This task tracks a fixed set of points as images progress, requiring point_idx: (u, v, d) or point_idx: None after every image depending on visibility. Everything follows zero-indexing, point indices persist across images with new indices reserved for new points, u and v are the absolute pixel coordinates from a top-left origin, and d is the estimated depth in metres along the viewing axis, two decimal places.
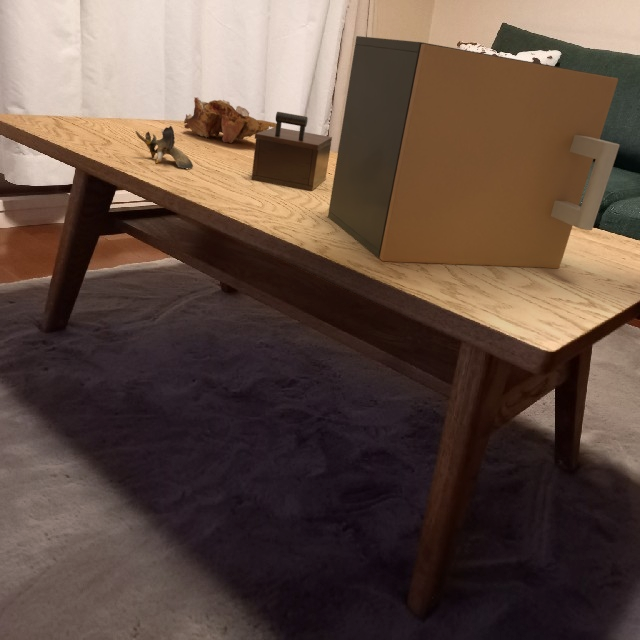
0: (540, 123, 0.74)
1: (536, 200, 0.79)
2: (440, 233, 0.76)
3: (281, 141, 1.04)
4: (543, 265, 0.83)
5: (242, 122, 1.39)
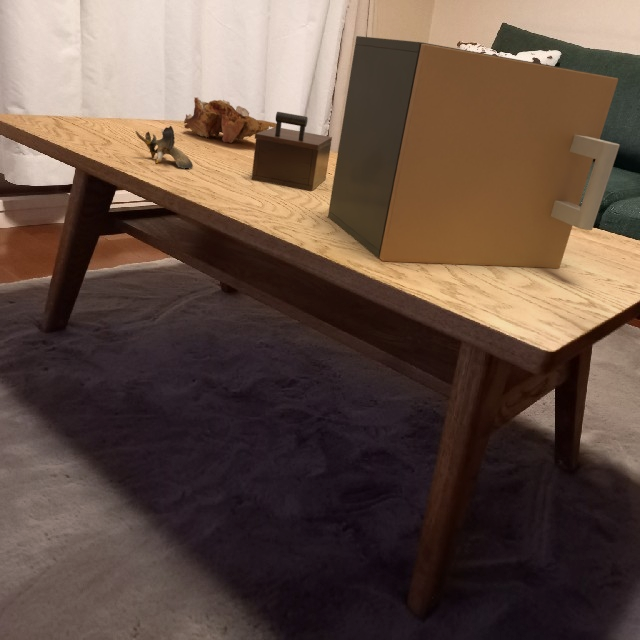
0: (540, 123, 0.74)
1: (536, 200, 0.79)
2: (440, 233, 0.76)
3: (281, 141, 1.04)
4: (543, 265, 0.83)
5: (242, 122, 1.39)
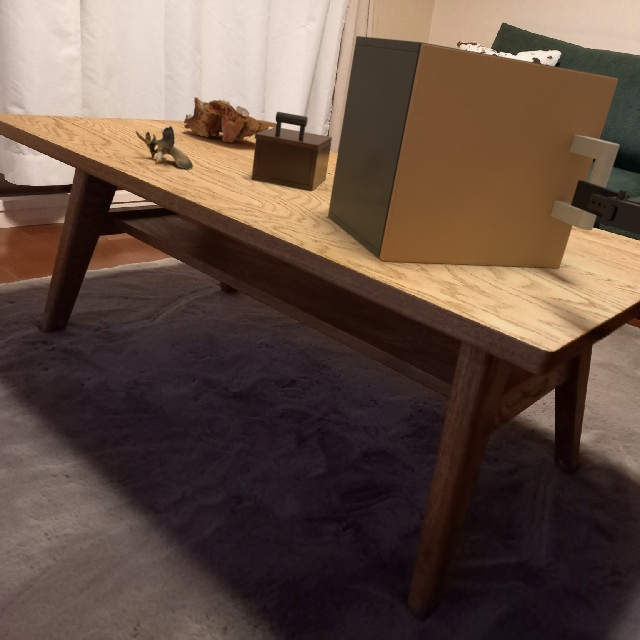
0: (540, 123, 0.74)
1: (536, 200, 0.79)
2: (440, 233, 0.76)
3: (281, 141, 1.04)
4: (543, 265, 0.83)
5: (242, 122, 1.39)
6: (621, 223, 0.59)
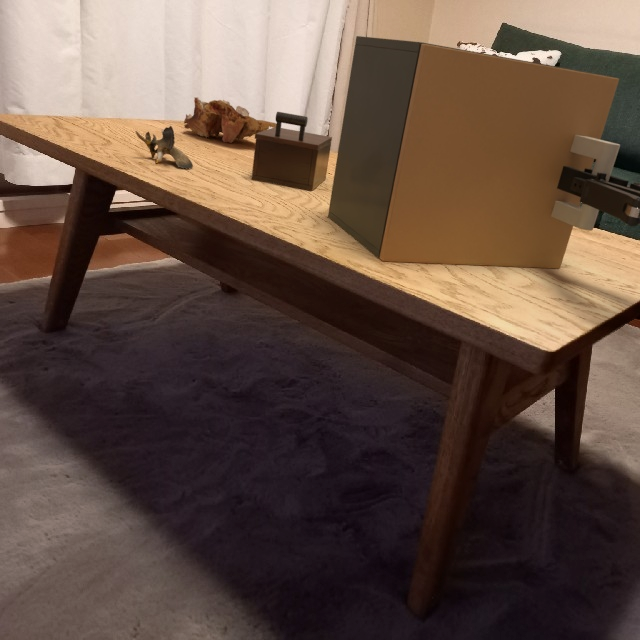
0: (540, 123, 0.74)
1: (537, 200, 0.78)
2: (440, 234, 0.76)
3: (281, 141, 1.04)
4: (544, 266, 0.83)
5: (242, 122, 1.39)
6: (589, 200, 0.68)
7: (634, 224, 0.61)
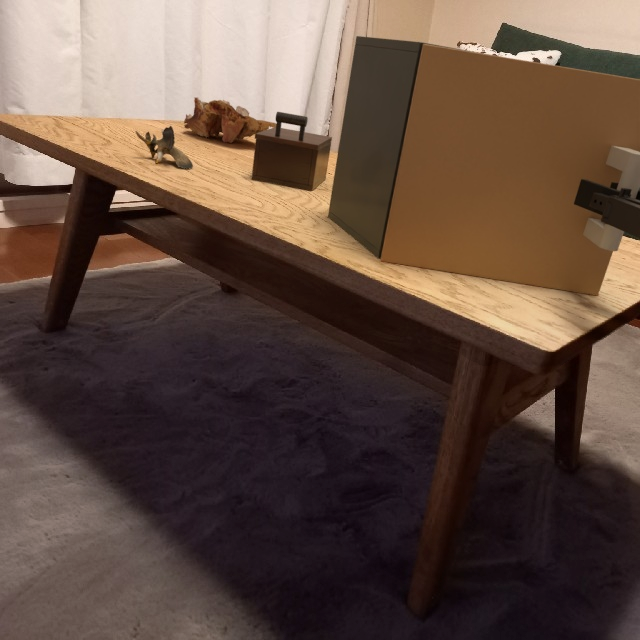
0: (565, 130, 0.68)
1: (564, 215, 0.72)
2: (446, 240, 0.74)
3: (281, 141, 1.04)
4: (576, 290, 0.75)
5: (242, 122, 1.39)
6: (613, 220, 0.59)
7: None
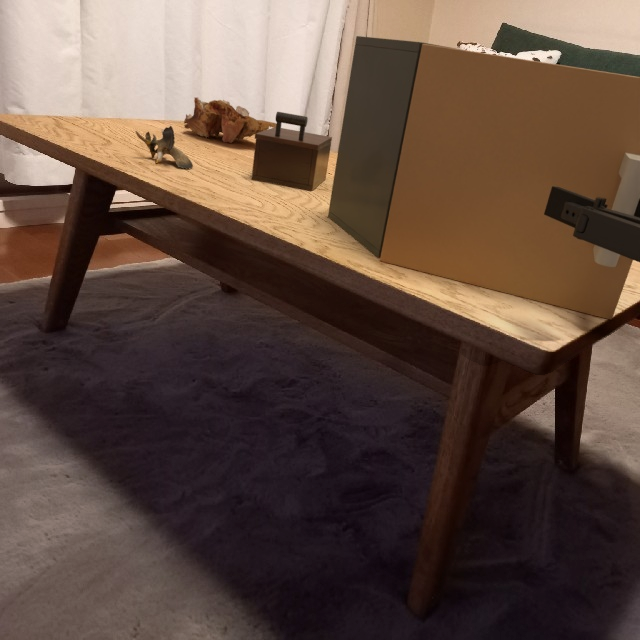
0: (572, 134, 0.64)
1: None
2: (444, 244, 0.72)
3: (281, 141, 1.04)
4: (586, 311, 0.69)
5: (242, 122, 1.39)
6: (591, 236, 0.51)
7: None
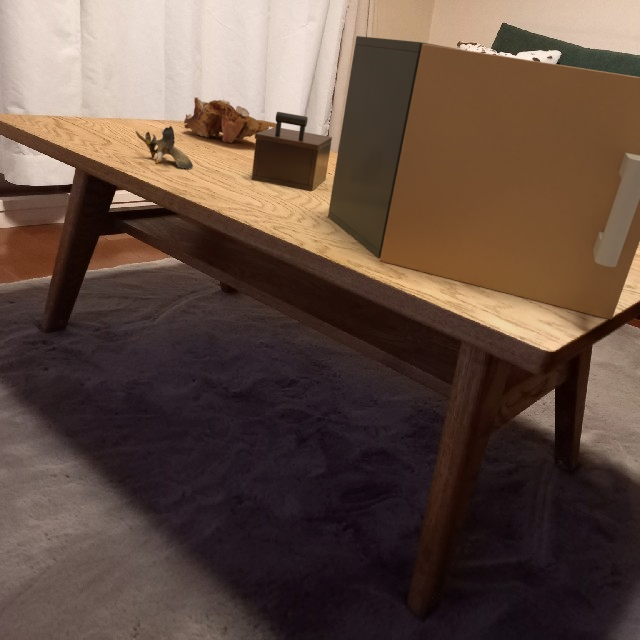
0: (572, 134, 0.64)
1: (571, 226, 0.66)
2: (444, 244, 0.72)
3: (281, 141, 1.04)
4: (586, 311, 0.69)
5: (242, 122, 1.39)
6: None
7: None
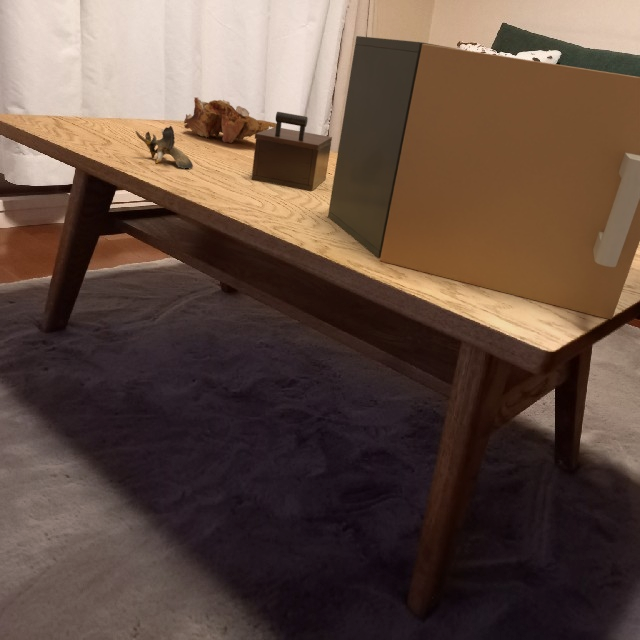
0: (572, 134, 0.64)
1: (571, 226, 0.66)
2: (444, 244, 0.72)
3: (281, 141, 1.04)
4: (586, 311, 0.69)
5: (242, 122, 1.39)
6: None
7: None
